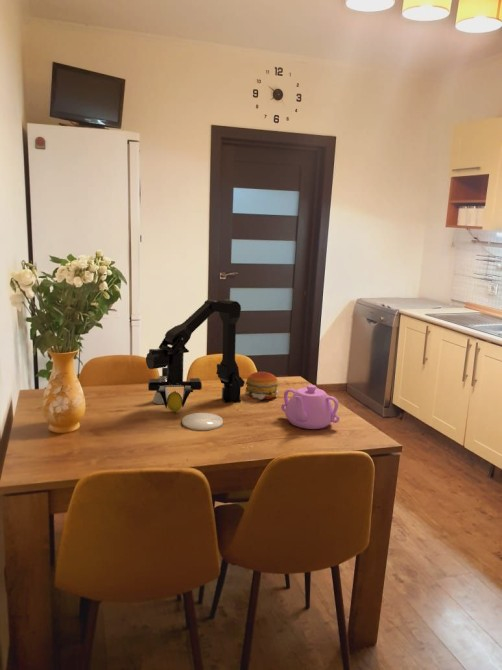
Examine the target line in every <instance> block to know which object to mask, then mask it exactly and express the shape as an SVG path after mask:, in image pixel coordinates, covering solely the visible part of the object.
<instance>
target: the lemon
mask: <svg viewBox="0 0 502 670" xmlns="http://www.w3.org/2000/svg"><path fill="white" fill-rule="evenodd" d="M182 399H183V396H182V395H181V393H180V392H177V391H176V390H174V391H172V392H170V393H169V395H168V398H167V409H168V410H170V411H171V412H173V413H176V412H177V411H179V410H181V408H182Z"/></svg>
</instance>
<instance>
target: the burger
mask: <svg viewBox="0 0 502 670" xmlns="http://www.w3.org/2000/svg"><path fill="white" fill-rule="evenodd" d="M278 384H279V381H278V378H277V377H276V376H275V375H274V374H272V373H270V372H267V371H256V372H253V373H251V374H250V375H248V377H247V378H246V381H245V385H246V387H245V394H247V396H248V397H250V398H252V399H257V400H272V399H273V398H274V399H275V397H276V395H279V391H278V390H279V389H278V387H279V386H278Z"/></svg>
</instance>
